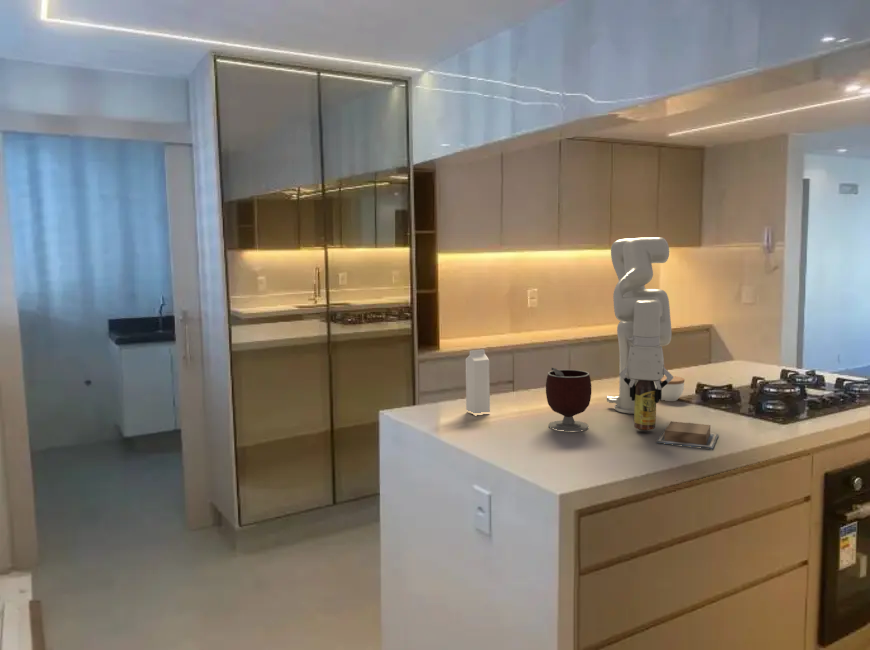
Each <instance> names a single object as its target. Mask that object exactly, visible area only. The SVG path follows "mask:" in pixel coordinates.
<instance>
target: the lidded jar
mask: <svg viewBox="0 0 870 650" xmlns="http://www.w3.org/2000/svg"><path fill="white" fill-rule="evenodd" d="M672 376H673V379H672V380H671V381H670V382H669V383H668V384H666V385H665V386H664V387H663V388H662V397H661V401H663V400H665V402H676V401H678V399H680V397H681V396H682V395H683V392H684V389H685V378H683V377H680V376H674V375H672ZM666 379H667V377H666V376H665V375H664V377H663V378H662V379H661V382H663V381H664V380H666ZM654 384H655V381H654ZM655 388H656V389H657V386H656V384H655Z"/></svg>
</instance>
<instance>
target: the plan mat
mask: <svg viewBox="0 0 870 650" xmlns="http://www.w3.org/2000/svg"><path fill="white" fill-rule="evenodd" d="M718 438H719V433H711V424H703V423H693V422H682V421H674V420H673V421H670V422H669V423H668V425H667V426H666V428H664V429H663V431H662V432H661V434H660V435H659V437H658V438H657V439H656V441H655V444H656V443H665V444H673V445H672V446H674V445H682V446H681V447H683V446H691V447H690V448H692V447H701V448H709V449H708V450H710V449H713V450H714V448H715V446H716V443H717V441H718ZM716 440H717V441H716ZM715 442H716V443H715ZM714 445H715V446H714ZM713 447H714V448H713ZM701 448H700V449H701Z"/></svg>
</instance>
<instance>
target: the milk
mask: <svg viewBox="0 0 870 650" xmlns="http://www.w3.org/2000/svg"><path fill="white" fill-rule="evenodd" d="M490 391H491V390H490V359H489V357H488V356H487V354H486V351H485V348H481V349H474V350H473V349H471V350H469V355H468V356H467V357H466V358H465V405H466V406H465V407H466V408H465V409H466V410H468V411H471V412H473V413H481V412H490V413H491V409H490V408H491V402H490V401H491V399H490V398H491V395H490V393H491V392H490Z"/></svg>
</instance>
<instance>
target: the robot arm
mask: <svg viewBox="0 0 870 650" xmlns="http://www.w3.org/2000/svg"><path fill="white" fill-rule="evenodd" d="M669 256H670V246H669V243H668V241H667V240H666V239H665V238H664V237H635V238H633V237H632V238H621V239H620V238H619V239H617V240H616V241H614V242H613V243H612V245H611V247H610V258H611V263H612V266H613V269H614V272H615V273H616V276H617V278H618V282H617V283H616V285H615V287H614V290H613V293H612V296H613V297H612V298H613V309H614V311H613V312H614V315H615V318H616V319H617V320H618V321H620V322H619V323H618V324H617V327H616V328H617V329H616V332H617V333H616V334H617V340H618V341H617V342H618V350H619V351H618V352H619V374H618V375H619V379H618V380H619V382H618V383H619V388H618V390H619V391H618V393H619V395H618V396H617V395H616V396H611V395H607V397H606V402H608V403H609V404H615V405H614V410H615V411H617V412H619V413H621V414H622V413H623V414H629V415H630V414H631V415H634V407H635V387H636V384H637V382H638V380H647V381H655V384H656V386H657V389H656V390H655V402H656V404H658V403H659V402H660V400H661V397H662V388H663V387H664V386H665V385H666V384H668V383H669V382H670V381H671V380H672V379H673V376H674V375H672V373H670V372H669V371H668V370H667V369H666V367H665V359H664V351H663V347H665V346H668V345H669V344H670V343H671V342H672V321H671V311H670V310H671V309H670V301H669V296H668V293H667V292H666V291H665V290H663V289H660V288H646V286H645V285H647V284H648V283H649V282H651V280H652V279H653V278H654V277H653V276H654V269H653V265H652V264H664V263H666V262H668V259H669ZM664 376H666V377H667V379H666V380H664V381H663V382H661V379H662V378H663V377H664ZM661 401H662V400H661Z"/></svg>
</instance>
